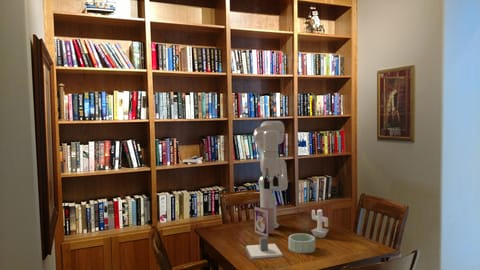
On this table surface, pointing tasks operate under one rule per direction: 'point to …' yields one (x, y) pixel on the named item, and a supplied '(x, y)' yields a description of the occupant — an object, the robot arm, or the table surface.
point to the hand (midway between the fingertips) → (271, 187)
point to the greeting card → (264, 221)
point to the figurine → (319, 224)
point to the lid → (263, 249)
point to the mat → (261, 258)
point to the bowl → (301, 243)
